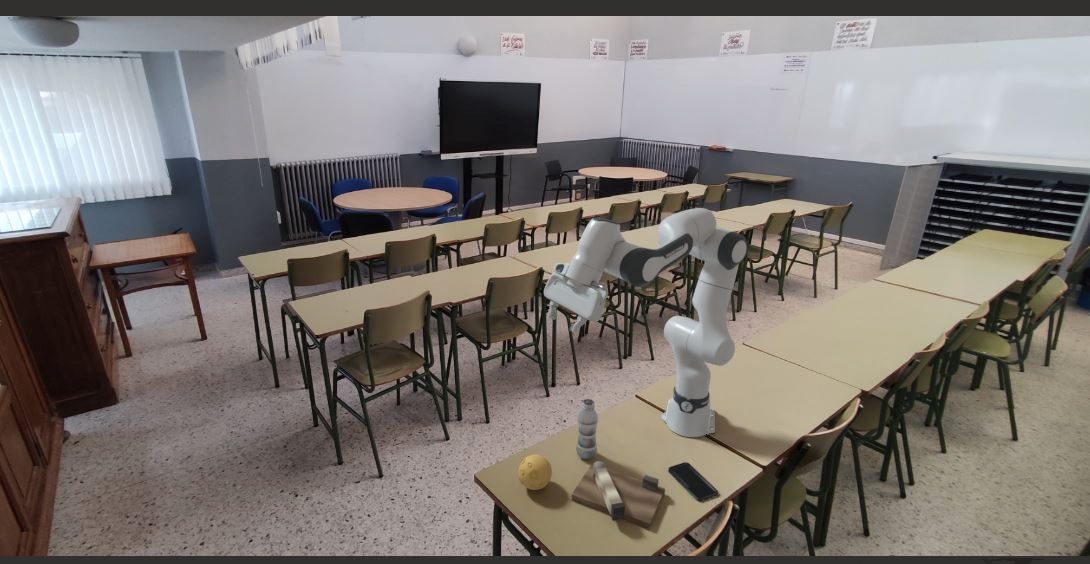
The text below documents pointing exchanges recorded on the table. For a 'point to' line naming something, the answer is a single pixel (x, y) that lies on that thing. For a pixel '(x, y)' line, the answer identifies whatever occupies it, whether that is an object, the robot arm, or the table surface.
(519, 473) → the stress ball
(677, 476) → the phone
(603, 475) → the stool leg
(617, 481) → the seat board
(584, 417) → the plastic bottle
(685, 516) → the table surface
